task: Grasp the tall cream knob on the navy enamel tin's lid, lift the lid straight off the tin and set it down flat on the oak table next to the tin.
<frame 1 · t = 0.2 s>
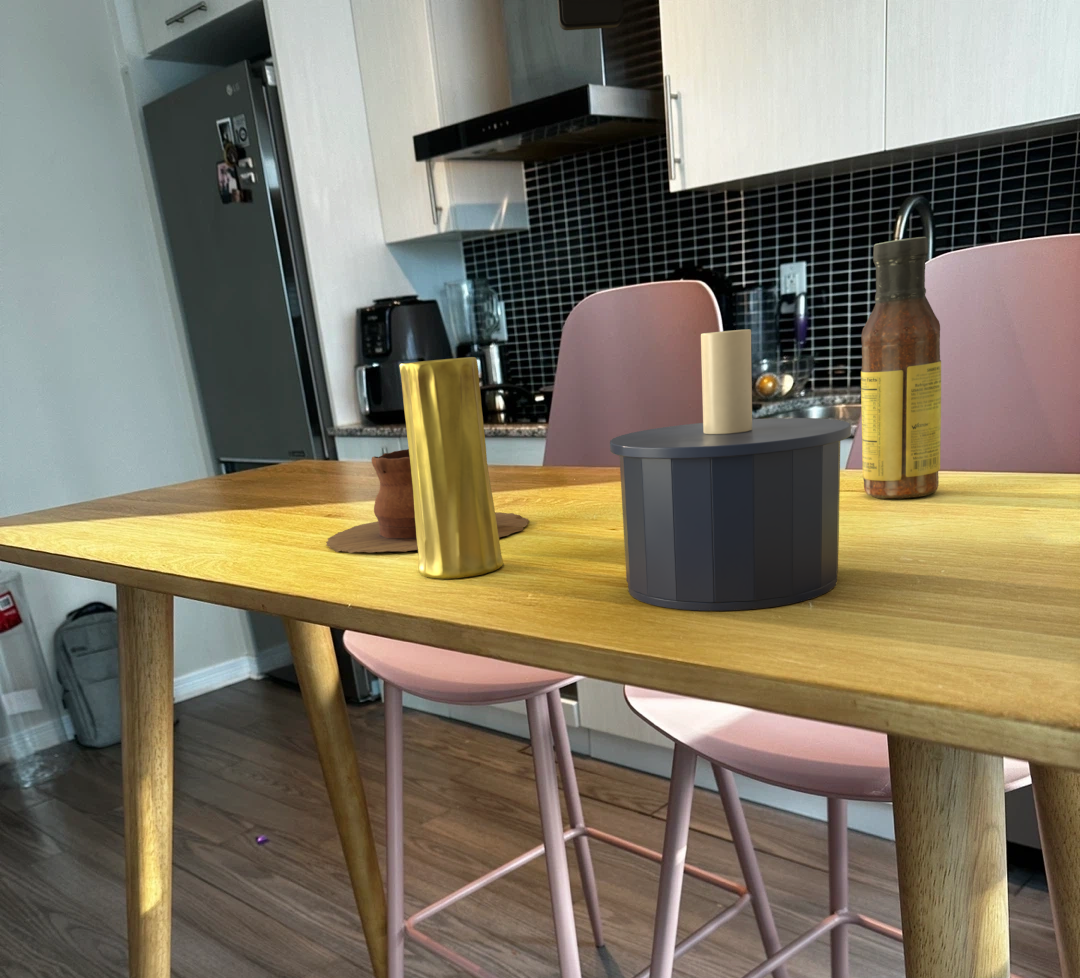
sauce bottle: (897, 497, 88), on the table
tin lid: (727, 442, 60), point 8 cm above the table, touching tin
vase: (461, 572, 74), on the table
ceramic pot: (428, 534, 90), on the table
tin: (730, 584, 63), on the table
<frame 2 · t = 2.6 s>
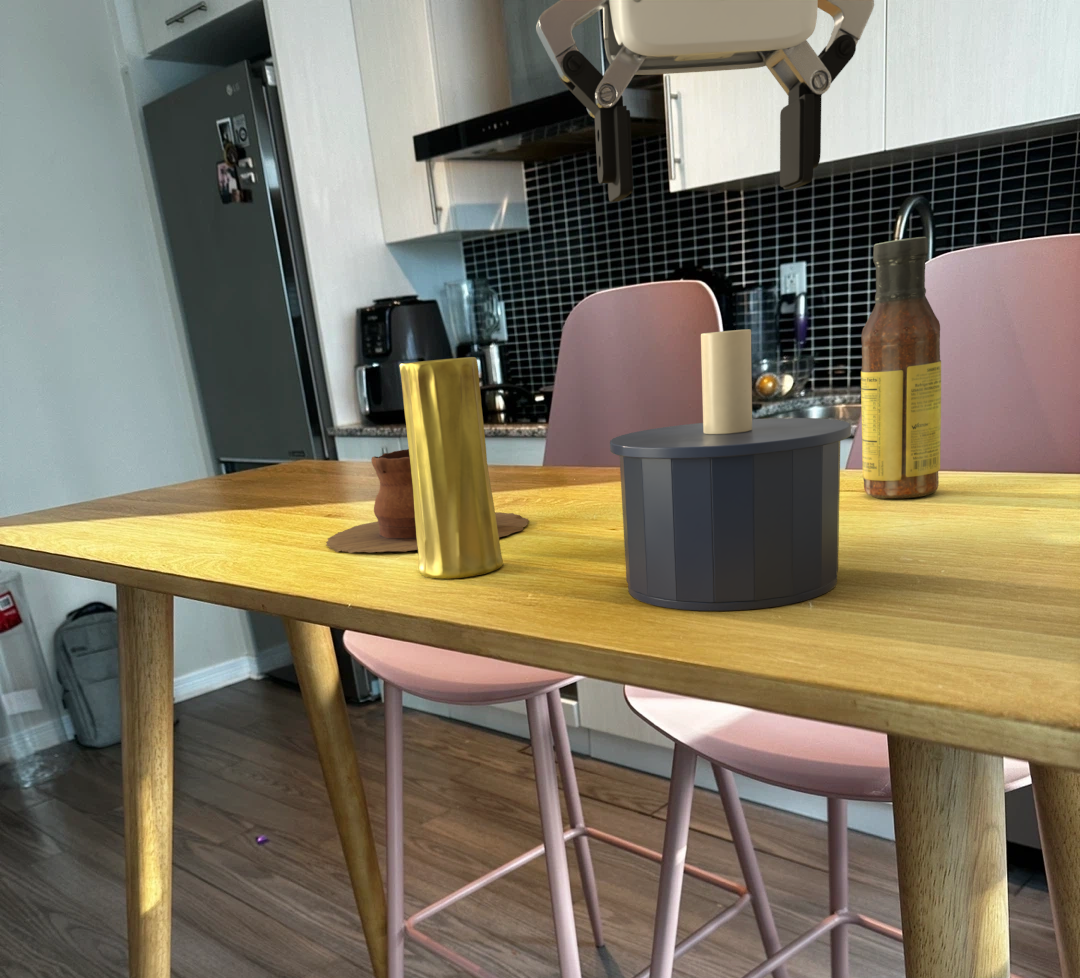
hand: (709, 191, 55), 22 cm above the table, tool pointing down, fingers open, 9 cm apart
nothing on the table moved.
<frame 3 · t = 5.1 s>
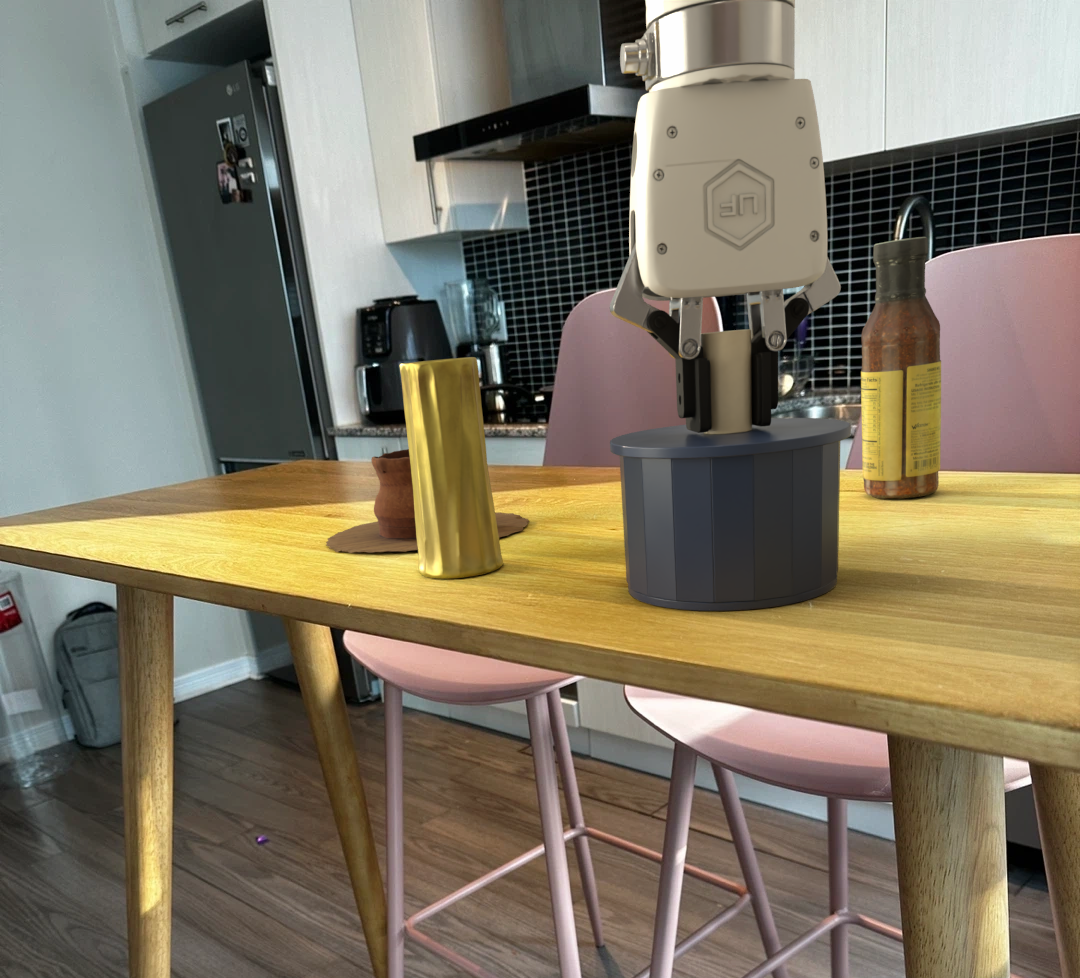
hand: (727, 424, 60), 10 cm above the table, tool pointing down, fingers closed on tin lid, 2 cm apart
tin lid: (727, 442, 60), point 9 cm above the table, touching gripper, tin
everything else where it was.
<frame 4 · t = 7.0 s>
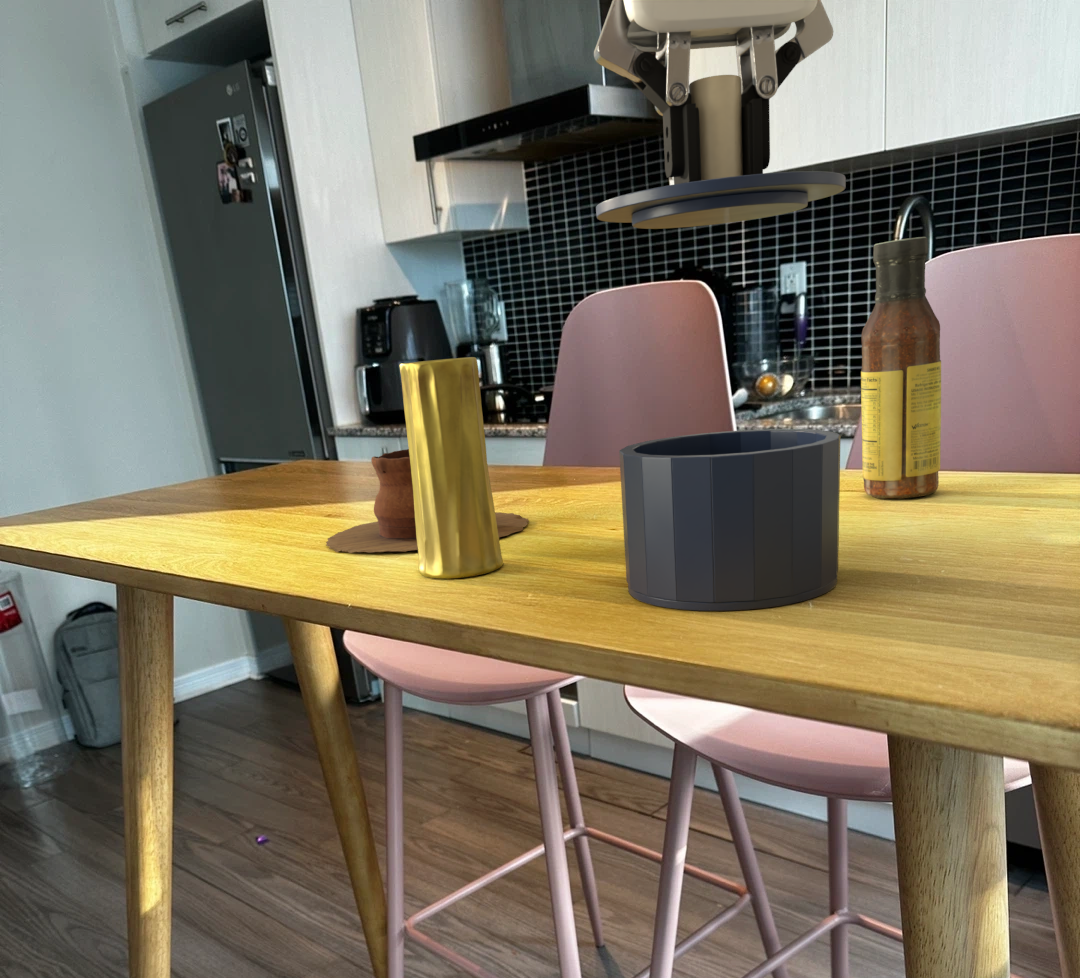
hand: (717, 185, 58), 22 cm above the table, tool pointing down, fingers closed on tin lid, 2 cm apart
tin lid: (718, 205, 58), point 21 cm above the table, touching gripper
everything else where it was.
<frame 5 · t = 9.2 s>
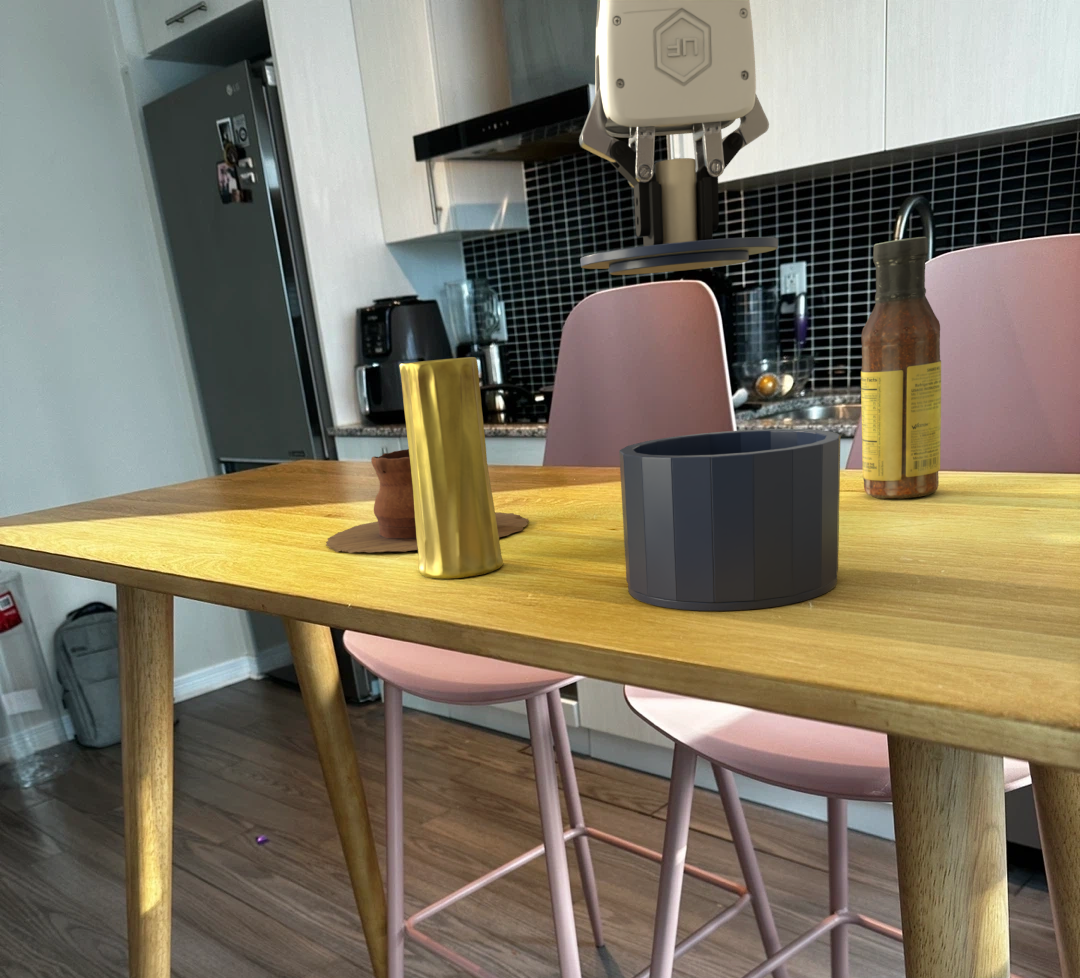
hand: (677, 243, 72), 21 cm above the table, tool pointing down, fingers closed on tin lid, 2 cm apart
tin lid: (678, 258, 73), point 20 cm above the table, touching gripper
everything else where it was.
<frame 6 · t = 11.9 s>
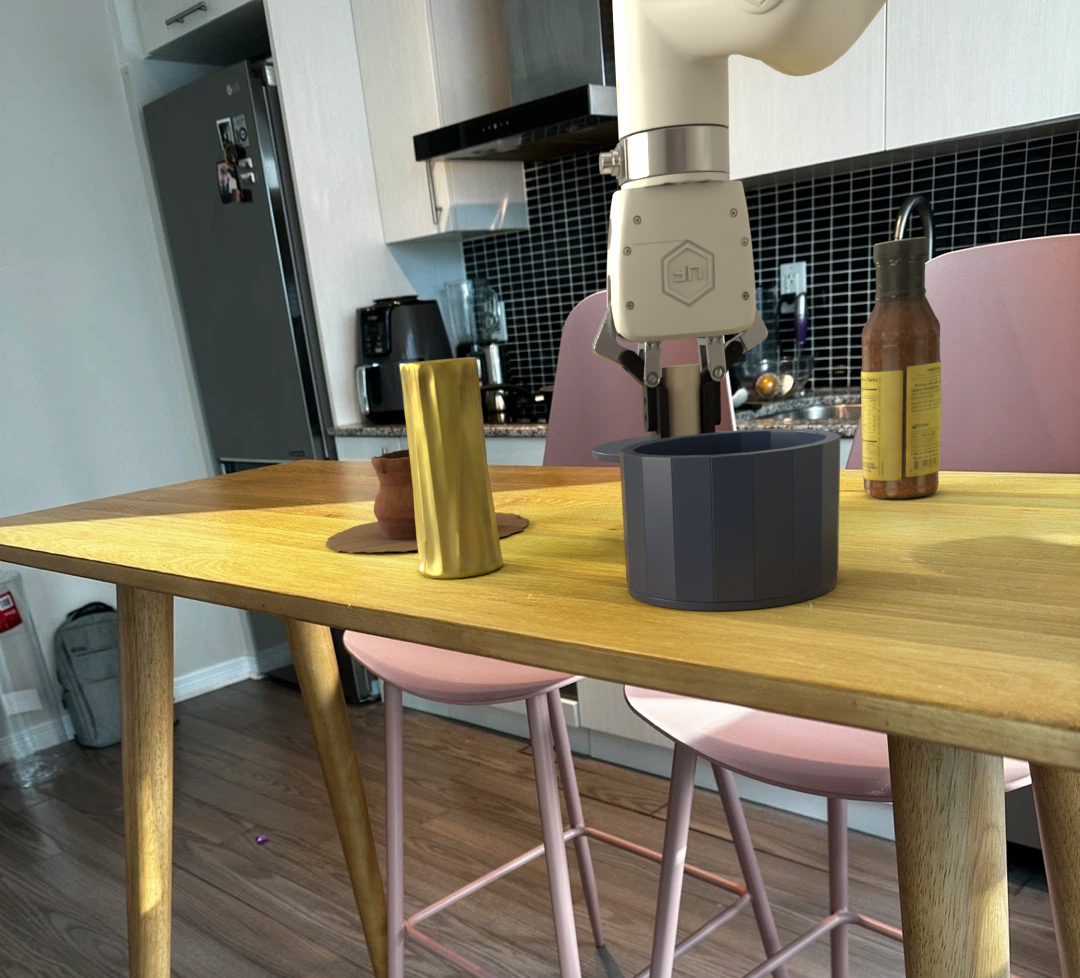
hand: (682, 436, 78), 7 cm above the table, tool pointing down, fingers closed on tin lid, 2 cm apart
tin lid: (683, 450, 78), point 6 cm above the table, touching gripper
everything else where it was.
when the fingers open (2 cm above the table, at t = 13.4 s): tin lid stays where it is, point 1 cm above the table.
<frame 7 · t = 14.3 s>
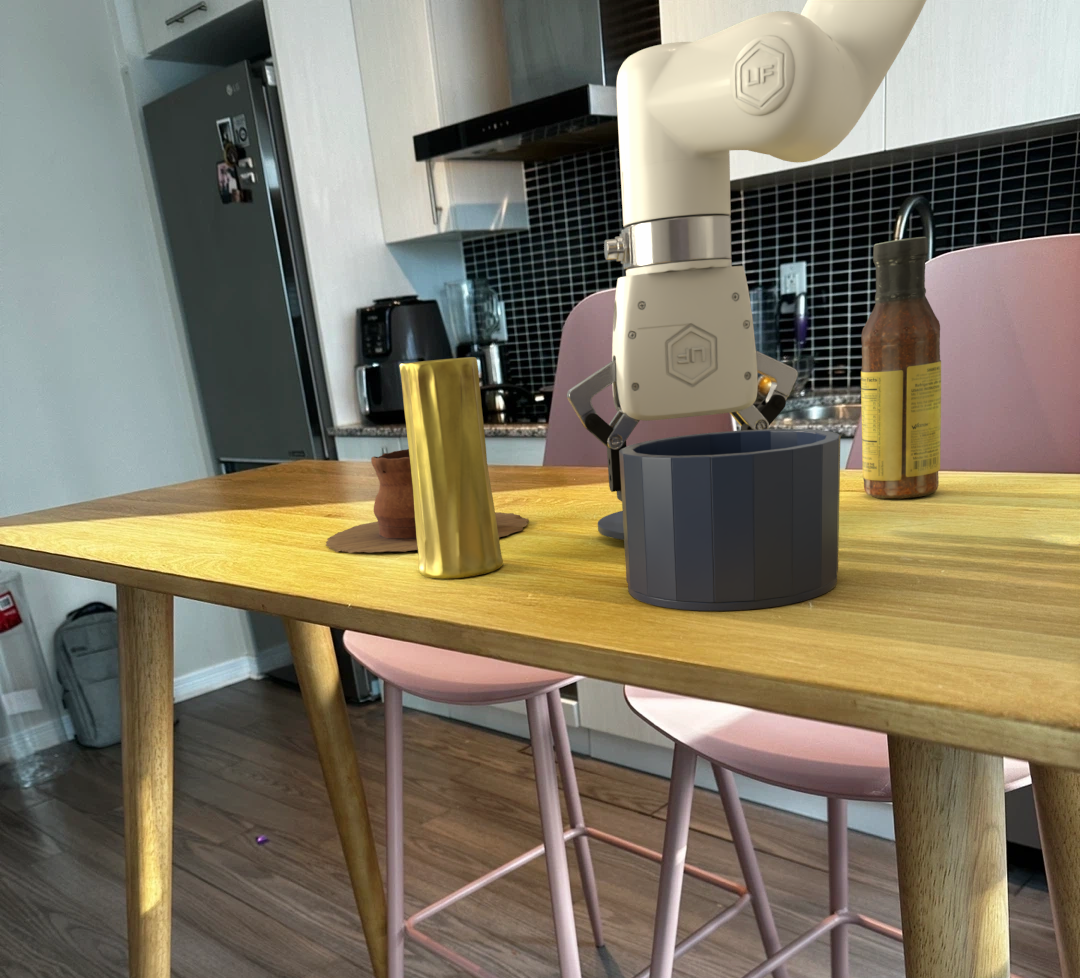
hand: (686, 493, 79), 3 cm above the table, tool pointing down, fingers open, 9 cm apart
tin lid: (686, 523, 80), point 1 cm above the table
everything else where it was.
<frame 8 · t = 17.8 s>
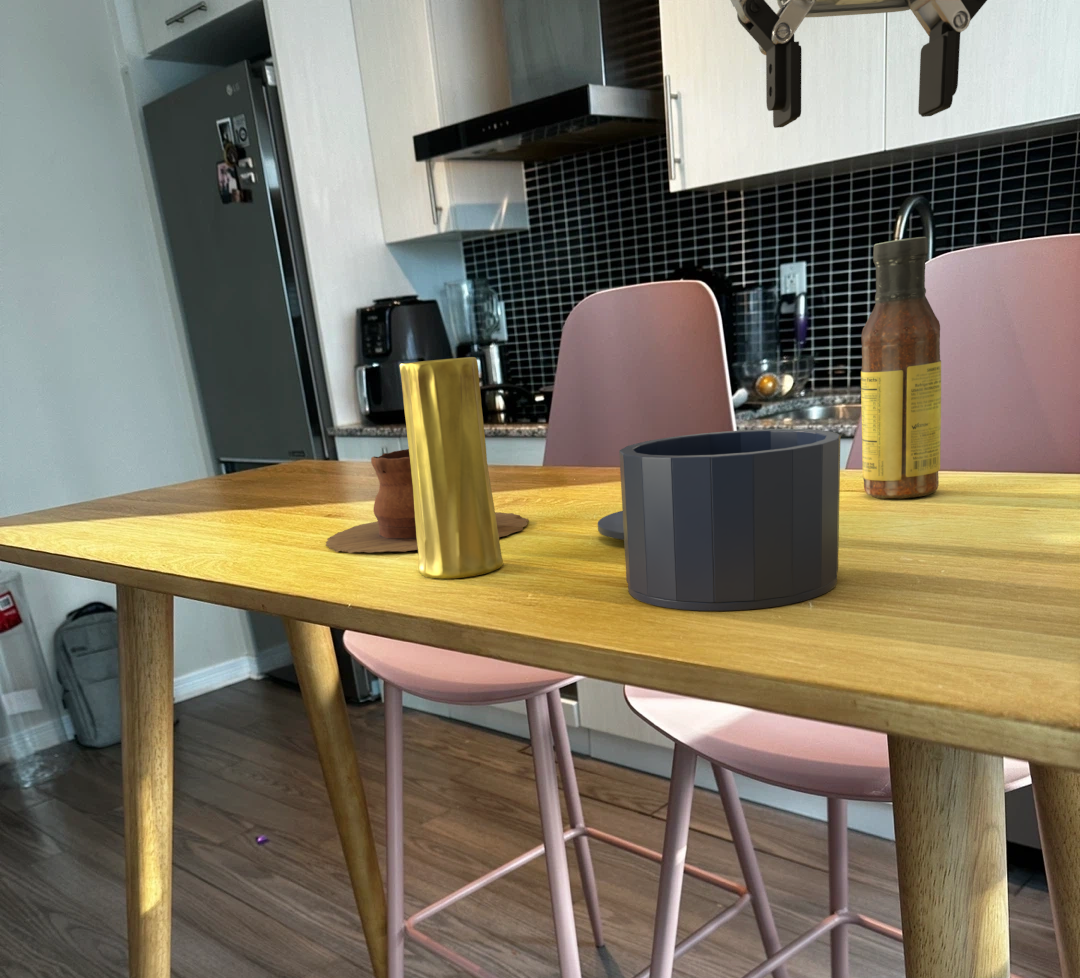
hand: (861, 117, 64), 26 cm above the table, tool pointing down, fingers open, 9 cm apart
nothing on the table moved.
at the end: tin lid inside the target area (0.0 cm from its centre), point 0.6 cm above the table; tin lid tilted 0°; the gripper is holding nothing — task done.
